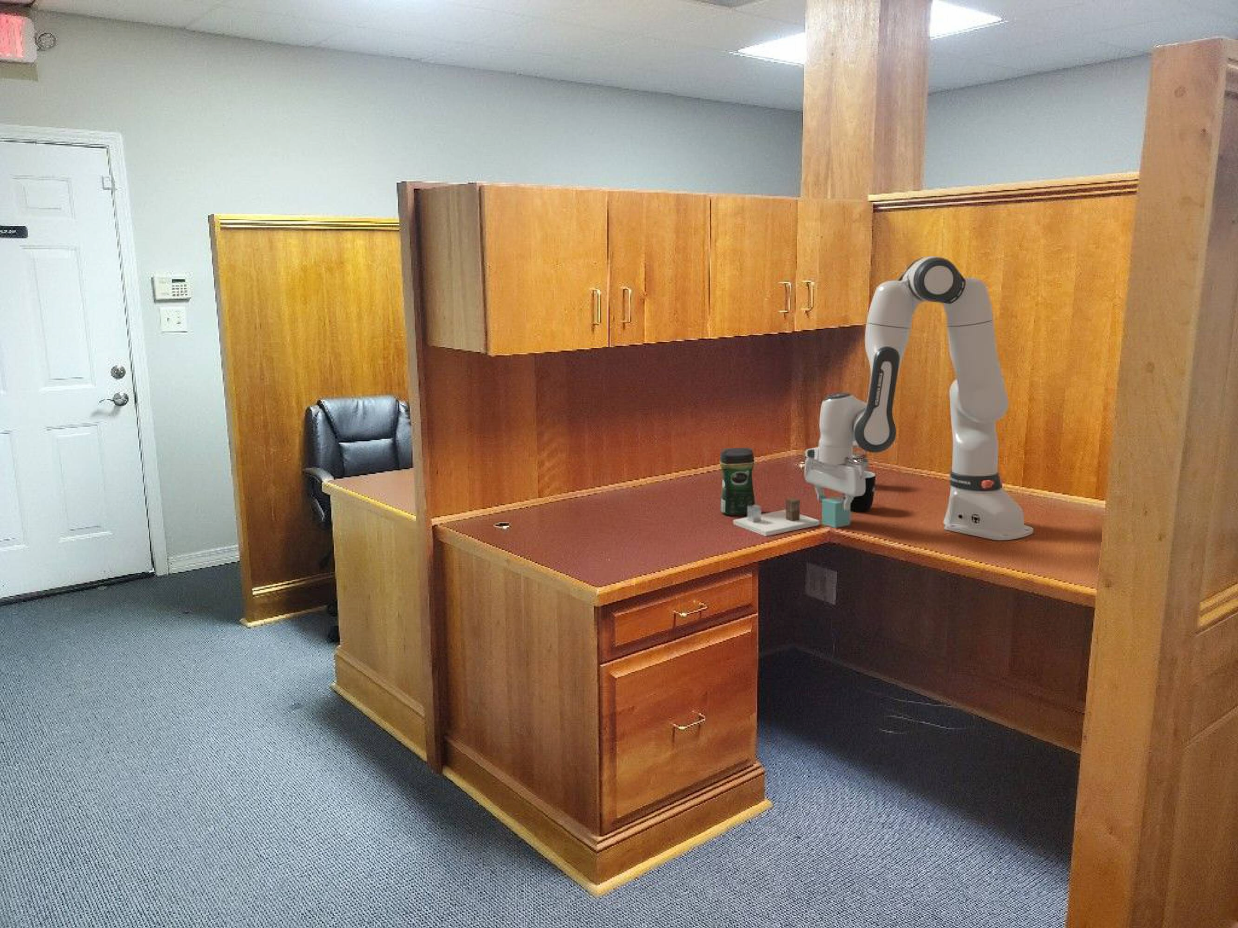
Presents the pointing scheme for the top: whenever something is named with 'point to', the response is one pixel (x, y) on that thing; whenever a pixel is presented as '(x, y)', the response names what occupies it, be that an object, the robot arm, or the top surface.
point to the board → (775, 523)
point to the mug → (864, 495)
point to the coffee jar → (737, 480)
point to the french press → (860, 457)
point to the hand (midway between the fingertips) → (833, 505)
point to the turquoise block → (834, 513)
